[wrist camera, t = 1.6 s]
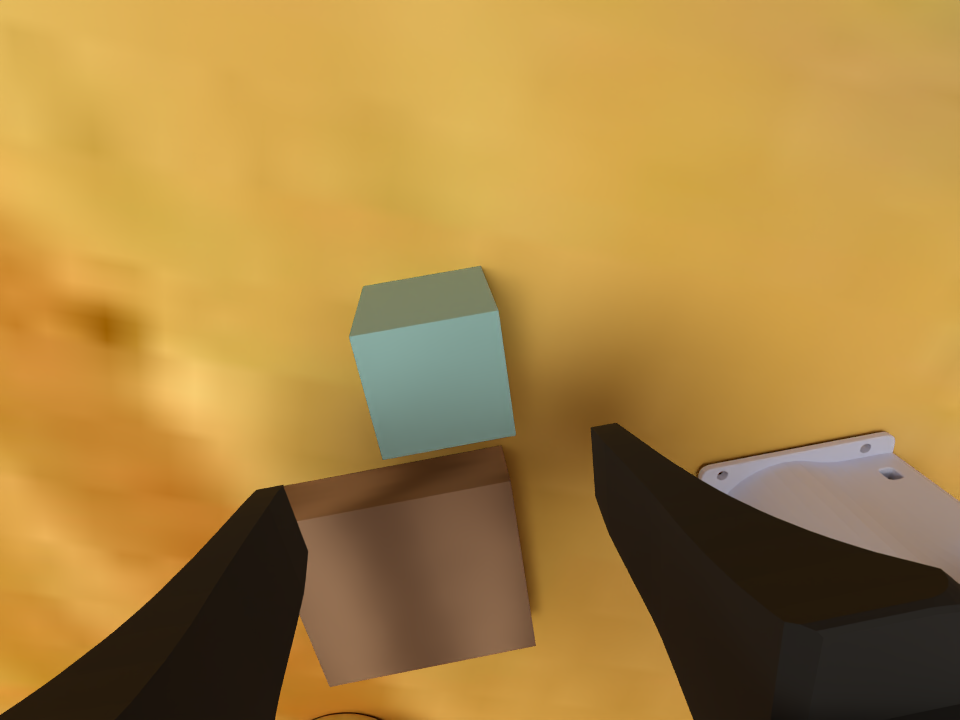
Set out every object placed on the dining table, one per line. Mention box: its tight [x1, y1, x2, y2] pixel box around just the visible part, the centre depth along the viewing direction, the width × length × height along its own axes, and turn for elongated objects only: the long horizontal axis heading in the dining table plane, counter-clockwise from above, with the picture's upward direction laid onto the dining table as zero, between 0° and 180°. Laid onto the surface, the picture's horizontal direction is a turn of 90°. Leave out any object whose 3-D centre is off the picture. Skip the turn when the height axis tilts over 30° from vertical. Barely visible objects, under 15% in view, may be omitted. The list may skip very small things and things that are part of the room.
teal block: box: [349, 266, 516, 460], centre depth 19 cm, size 4×4×5 cm
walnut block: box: [284, 446, 536, 687], centre depth 25 cm, size 10×10×3 cm
